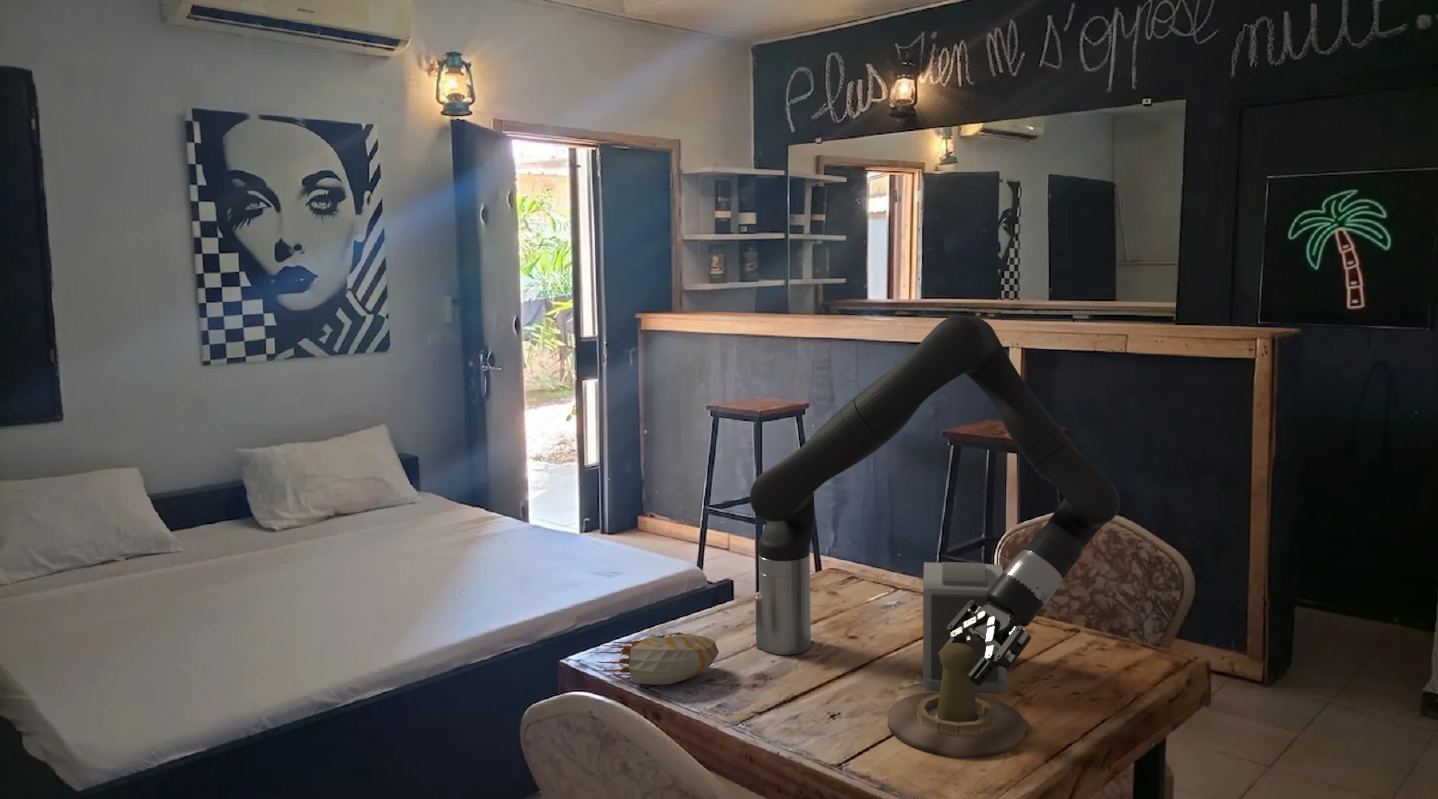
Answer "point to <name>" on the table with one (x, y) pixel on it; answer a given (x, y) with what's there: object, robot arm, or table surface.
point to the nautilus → (665, 658)
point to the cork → (957, 684)
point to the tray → (956, 727)
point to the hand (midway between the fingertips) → (956, 671)
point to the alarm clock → (942, 603)
